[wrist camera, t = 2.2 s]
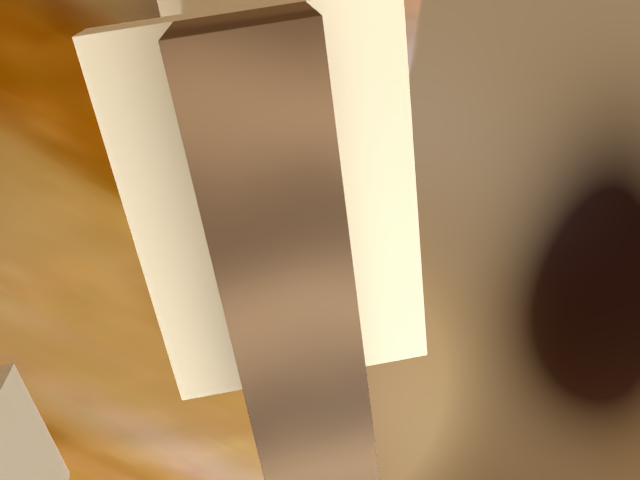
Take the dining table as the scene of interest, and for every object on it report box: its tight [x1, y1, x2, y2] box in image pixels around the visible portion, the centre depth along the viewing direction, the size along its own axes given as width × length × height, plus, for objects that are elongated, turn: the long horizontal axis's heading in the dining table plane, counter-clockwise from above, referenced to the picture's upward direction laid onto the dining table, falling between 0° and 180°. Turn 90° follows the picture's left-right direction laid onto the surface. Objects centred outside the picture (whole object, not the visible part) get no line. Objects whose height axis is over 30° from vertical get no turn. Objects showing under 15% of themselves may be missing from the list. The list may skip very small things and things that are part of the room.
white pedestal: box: [72, 0, 427, 400], centre depth 35 cm, size 14×12×30 cm
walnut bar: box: [158, 1, 380, 480], centre depth 22 cm, size 24×4×4 cm, turn 7°
